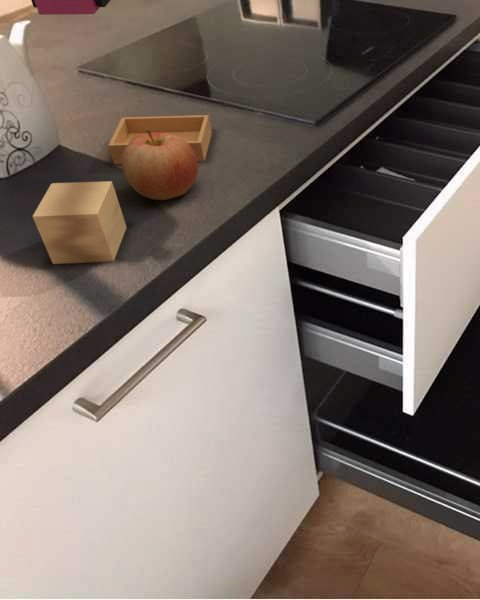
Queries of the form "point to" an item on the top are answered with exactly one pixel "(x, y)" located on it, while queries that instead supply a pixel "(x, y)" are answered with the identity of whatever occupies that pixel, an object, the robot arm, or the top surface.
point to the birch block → (80, 222)
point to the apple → (159, 165)
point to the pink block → (66, 7)
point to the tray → (185, 127)
